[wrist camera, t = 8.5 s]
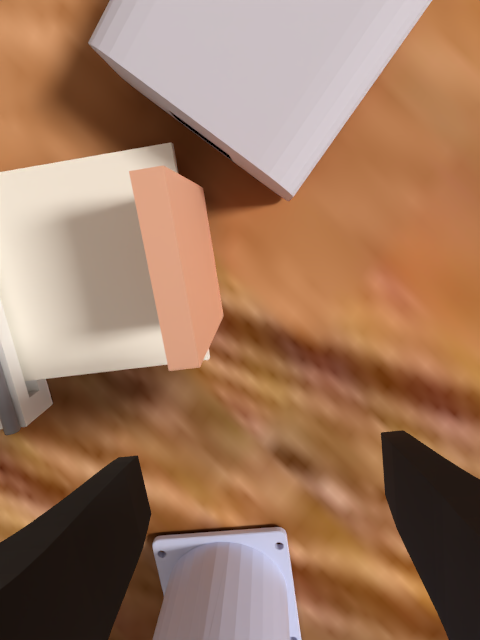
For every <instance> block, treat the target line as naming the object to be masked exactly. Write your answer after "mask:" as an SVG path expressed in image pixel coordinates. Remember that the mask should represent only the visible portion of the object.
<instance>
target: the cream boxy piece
mask: <svg viewBox="0 0 480 640" xmlns="http://www.w3.org/2000/svg"><path fill="white" fill-rule="evenodd" d="M0 299H1V302H2V306H3V309H4V312H5V316H6V319H7V323H8V326H9V330H10V333H11V336H12V340H13V343H14V347H15V350H16V353H17V357H18V360H19V364H20V367H21V370H22V374H23V377H24V381H32V380H40V379H48V378H57V377H65V376H74V375H82V374H91V373H99V372H108V371H116V370H125V369H133V368H142V367H150V366H159V365H167V364H168V369H169V371H173V370H182V369H191V368H199V367H200V366H201V364H202V362H203V360H209V358H210V354H209V346H210V344H211V342H212V340H213V338H214V336H215V333H216V331H217V329H218V327H219V325H220V322H221V320H222V318H223V310H222V303H221V297H220V291H219V285H218V278H217V272H216V266H215V260H214V253H213V247H212V241H211V235H210V228H209V222H208V216H207V210H206V203H205V197H204V191H203V187H201V186H199V185H197V184H196V183H194V182H192V181H190V180H189V179H187V178H185V177H183V176H181V175H180V174H178V168H177V163H176V157H175V151H174V145H173V143H171V142H170V143H165V144H159V145H153V146H148V147H142V148H136V149H130V150H125V151H119V152H113V153H107V154H102V155H96V156H90V157H85V158H79V159H73V160H67V161H62V162H56V163H50V164H45V165H39V166H33V167H27V168H22V169H16V170H10V171H4V172H0Z"/></svg>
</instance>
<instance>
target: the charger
mask: <svg viewBox="0 0 480 640" xmlns="http://www.w3.org/2000/svg"><path fill="white" fill-rule="evenodd" d="M431 1H432V0H110V1H109V3H108V5H107V7H106V9H105V11H104V13H103V15H102V17H101V19H100V20H99V22H98V24H97V26H96V28H95V30H94V32H93V34H92V36H91V38H90V40H89V42H88V44H89V45H90V46H91V47H92V48H93V49H94V50H95V51H96V52H97V53H98V54H99V55H100V56H101V57H102V58H103V59H104V60H105V61H106V62H107V63H108V64H109V66H110V67H111V68H112V69H113V70H114V71H115V72H116V73H117V74H118V75H119V76H120V77H122V78H123V79H124V80H125V81H126V82H127V83H129V84H130V85H131V86H132V87H134V88H135V89H136V90H138V91H139V92H140V93H141V94H143V95H144V96H145V97H147V98H148V99H149V100H151V101H152V102H153V103H155V104H156V105H157V106H159V107H160V108H161V109H163V110H164V111H165V112H167V113H168V114H170V115H171V116H172V117H174V116H173V115H172V114H171V112H172V113H173V114H174V115H176V116H177V117H178V118H180V119H181V120H183V121H184V122H185V123H187V124H188V125H189V126H191V127H192V128H193V129H195V130H196V131H197V132H199V133H200V134H201V135H203V136H204V137H205V138H207V139H208V140H209V141H211V142H212V143H213V144H215V145H216V146H218V147H219V148H220V149H222V150H223V151H224V152H226V153H227V154H228V155H230V157H231V159H232V160H231V159H230V158H229V159H230V160H231V161H233V162H234V163H236V164H237V165H238V166H240V167H241V168H242V169H244V170H245V171H246V172H248V173H249V174H250V175H252V176H253V177H254V178H256V179H257V180H258V181H260V182H261V183H263V184H264V185H265V186H267V187H268V188H269V189H271V190H272V191H274V192H275V193H276V194H278V195H279V196H281V197H282V198H284V199H285V200H287V201H290V200H291V199H292V198H293V197H294V195H295V194H296V192H297V191H298V190H299V188H300V187H301V185H302V184H303V182H304V181H305V180H306V178H307V177H308V175H309V174H310V173H311V171H312V170H313V168H314V167H315V165H316V164H317V163H318V161H319V160H320V158H321V157H322V156H323V154H324V153H325V151H326V150H327V148H328V147H329V146H330V144H331V143H332V141H333V140H334V139H335V137H336V136H337V134H338V133H339V131H340V130H341V129H342V127H343V126H344V124H345V123H346V122H347V120H348V119H349V117H350V116H351V114H352V113H353V112H354V110H355V109H356V107H357V106H358V105H359V103H360V102H361V100H362V99H363V98H364V96H365V95H366V93H367V92H368V90H369V89H370V88H371V86H372V85H373V83H374V82H375V81H376V79H377V78H378V76H379V75H380V73H381V72H382V71H383V69H384V68H385V66H386V65H387V64H388V62H389V61H390V59H391V58H392V56H393V55H394V54H395V52H396V51H397V49H398V48H399V47H400V45H401V44H402V42H403V41H404V39H405V38H406V37H407V35H408V34H409V32H410V31H411V30H412V28H413V27H414V25H415V24H416V22H417V21H418V20H419V18H420V17H421V15H422V14H423V13H424V11H425V10H426V8H427V7H428V5H429V4H430V3H431ZM174 118H175V117H174ZM175 119H176V118H175ZM176 120H177V119H176ZM179 122H180V121H179ZM180 123H181V122H180ZM183 125H184V124H183ZM184 126H185V125H184ZM187 128H188V127H187ZM188 129H189V128H188ZM190 130H191V129H190ZM191 131H192V130H191ZM192 132H193V131H192ZM194 133H195V132H194ZM195 134H196V133H195ZM196 135H197V134H196ZM198 136H199V135H198ZM199 137H200V136H199ZM200 138H201V137H200ZM202 139H203V138H202ZM203 140H204V139H203ZM206 142H207V141H206ZM207 143H208V142H207ZM210 145H211V144H210ZM211 146H212V145H211ZM214 148H215V147H214ZM215 149H216V148H215ZM218 151H219V150H218ZM219 152H220V151H219ZM221 153H222V152H221ZM222 154H223V153H222ZM223 155H224V154H223ZM225 156H226V155H225ZM226 157H227V156H226ZM227 158H228V157H227Z"/></svg>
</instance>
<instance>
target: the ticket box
mask: <svg viewBox="0 0 480 640" xmlns="http://www.w3.org/2000/svg"><path fill="white" fill-rule="evenodd" d="M51 405H53V402H52V399H51V395H50V391H49V388H48V384H47V381H46V379H40V380H32V381H24V377H23V374H22V370H21V367H20V364H19V360H18V357H17V353H16V350H15V347H14V343H13V340H12V336H11V333H10V330H9V326H8V323H7V319H6V316H5V312H4V309H3V306H2V302H1V299H0V429H3V430H4V433H5V435H11V434H14V433H16V432H18V431H19V430H20V429H21V428H20V427H27V426H28V425H29V424H30V423H31V422H32V421H34V420H35V419H36V418H37V417H38V416H40V415H41V414H42V413H43V412H44V411H45V410H47V409H48V408H49V407H50V406H51Z"/></svg>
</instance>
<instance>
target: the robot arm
mask: <svg viewBox="0 0 480 640" xmlns="http://www.w3.org/2000/svg"><path fill="white" fill-rule="evenodd" d="M381 440H382V454H383V469H384V483H385V495H386V498H387V501H388V504H389V507H390V510H391V513H392V516H393V519H394V522H395V524H396V527H397V530H398V532H399V534H400V536H401V538H402V540H403V543H404V545H405V547H406V549H407V551H408V553H409V555H410V557H411V559H412V561H413V563H414V565H415V567H416V570H417V572H418V574H419V576H420V578H421V580H422V582H423V584H424V586H425V588H426V590H427V592H428V594H429V596H430V598H431V600H432V602H433V605H434V607H435V609H436V611H437V613H438V615H439V617H440V620H441V622H442V624H443V626H444V629H445V631H446V633H447V636H448V639H449V640H480V479H478V478H476V477H474V476H473V475H471V474H469V473H468V472H466V471H464V470H463V469H461V468H459V467H458V466H456V465H455V464H453V463H451V462H450V461H448V460H447V459H445V458H444V457H442V456H441V455H439V454H438V453H436V452H435V451H433V450H432V449H430V448H429V447H427V446H426V445H424V444H423V443H421V442H420V441H418V440H417V439H416V438H414V437H413V436H411V435H410V434H408V433H406V432H405V431H392V432H382V433H381ZM150 516H151V510H150V506H149V502H148V498H147V493H146V489H145V485H144V480H143V476H142V472H141V467H140V463H139V459H138V456H130V457H119V458H117V459H116V460H114V461H113V462H111V463H110V464H108V465H107V466H106V467H104V468H103V469H102V470H100V471H99V472H98V473H96V474H95V475H94V476H93V477H91V478H90V479H89V480H88V481H86V482H85V483H84V484H82V485H81V486H80V487H79V488H77V489H76V490H75V491H73V492H72V493H71V494H70V495H68V496H67V497H66V498H64V499H63V500H62V501H60V502H59V503H58V504H56V505H55V506H53V507H52V508H51V509H49V510H48V511H47V512H45V513H44V514H42V515H41V516H40V517H38V518H37V519H36V520H34V521H33V522H31V523H30V524H28V525H27V526H26V527H24V528H23V529H21V530H20V531H18V532H16V533H15V534H13V535H12V536H10V537H9V538H7V539H5V540H4V541H2V542H1V543H0V640H108V638H109V635H110V632H111V629H112V627H113V624H114V621H115V619H116V616H117V614H118V611H119V608H120V606H121V603H122V601H123V598H124V596H125V593H126V590H127V588H128V585H129V583H130V580H131V578H132V575H133V572H134V570H135V567H136V565H137V562H138V559H139V557H140V554H141V551H142V548H143V545H144V541H145V537H146V534H147V530H148V525H149V521H150ZM278 542H280V543H282V544H276V543H278ZM152 548H153V552H154V557H155V561H156V565H157V569H158V573H159V578H160V582H161V586H162V590H163V595H164V599H163V603H162V606H161V610H160V614H159V617H158V621H157V625H156V628H155V632H154V636H153V640H301V633H300V626H299V619H298V612H297V604H296V597H295V590H294V583H293V576H292V569H291V562H290V554H289V547H288V540H287V533H286V531H285V530H284V529H283V528H281V527H270V528H257V529H243V530H230V531H216V532H203V533H189V534H176V535H162V536H157V537H156V538H155V539H154V541H153V544H152ZM161 551H164V552H161Z"/></svg>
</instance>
